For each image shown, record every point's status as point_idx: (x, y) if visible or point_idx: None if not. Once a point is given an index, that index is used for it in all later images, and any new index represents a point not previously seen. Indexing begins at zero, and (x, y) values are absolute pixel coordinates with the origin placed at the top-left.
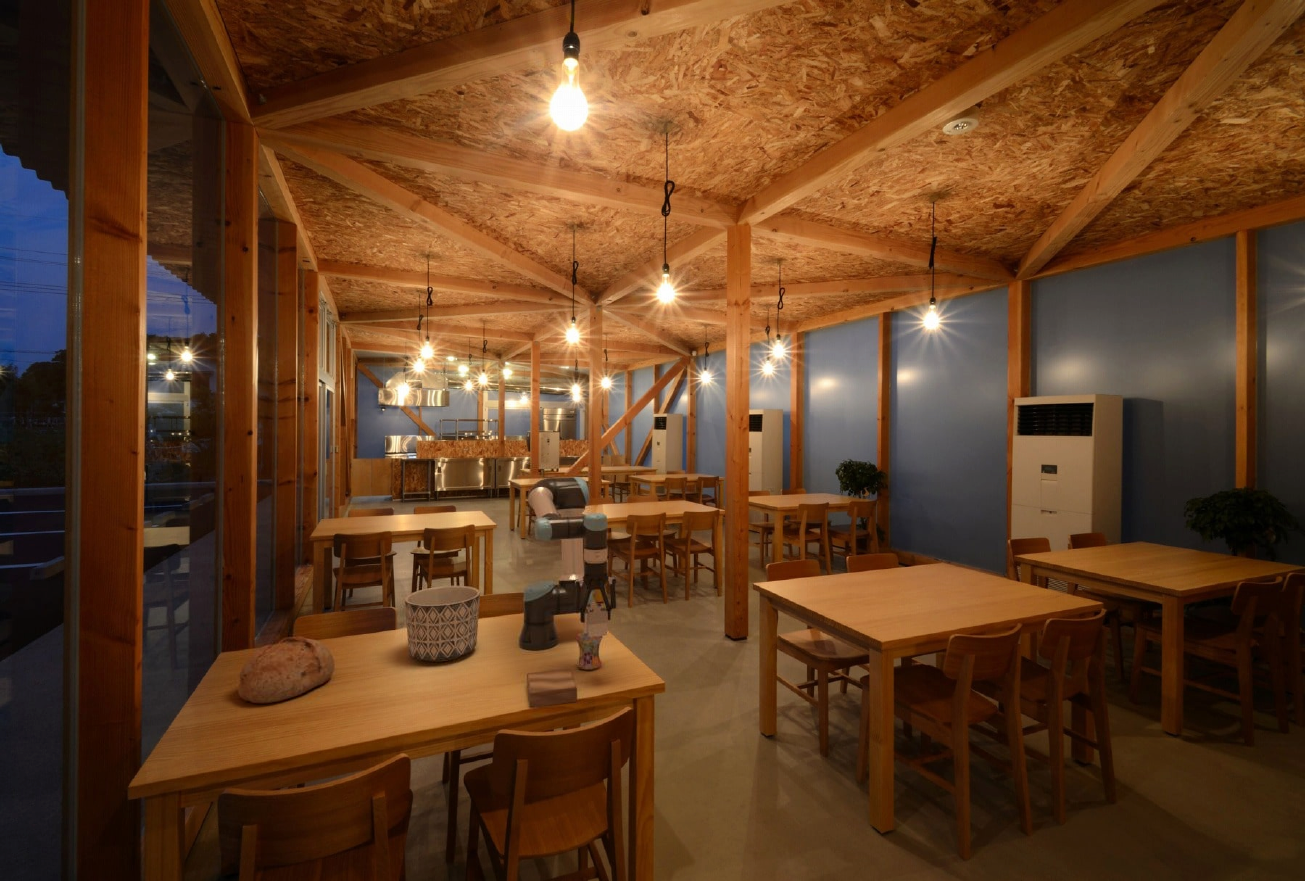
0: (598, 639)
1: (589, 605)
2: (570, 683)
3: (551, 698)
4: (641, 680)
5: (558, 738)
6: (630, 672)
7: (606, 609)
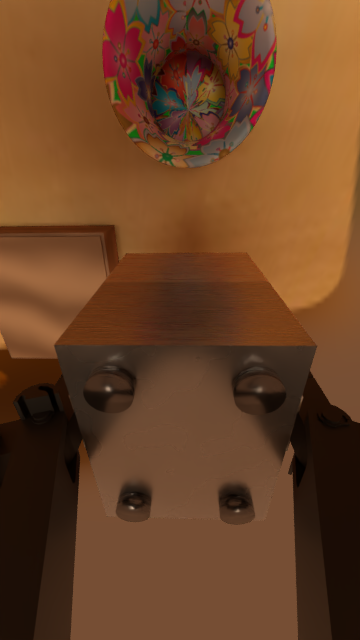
0: (230, 151)
1: (121, 405)
2: None
3: None
4: (312, 279)
5: None
6: (309, 215)
7: (296, 430)
